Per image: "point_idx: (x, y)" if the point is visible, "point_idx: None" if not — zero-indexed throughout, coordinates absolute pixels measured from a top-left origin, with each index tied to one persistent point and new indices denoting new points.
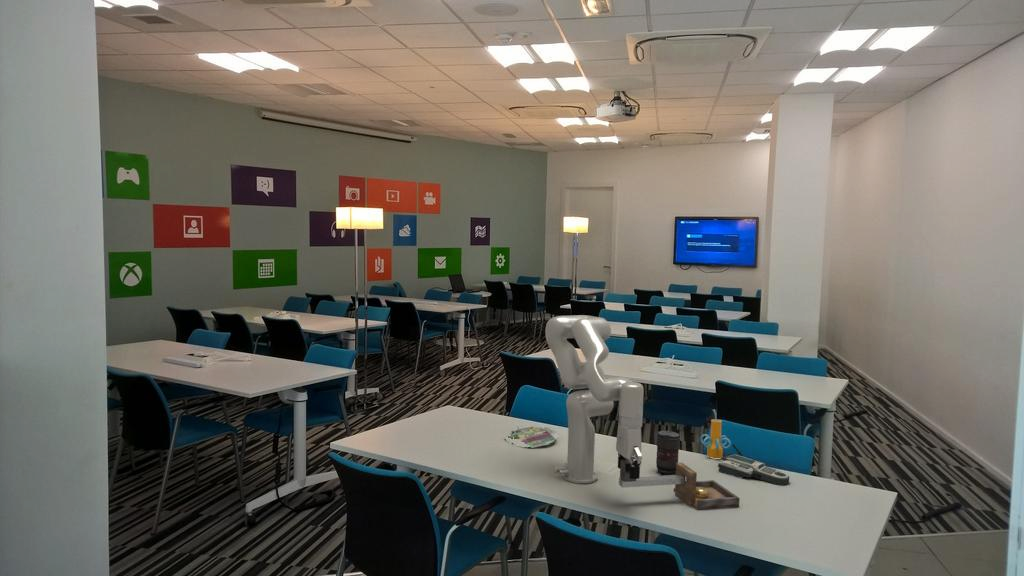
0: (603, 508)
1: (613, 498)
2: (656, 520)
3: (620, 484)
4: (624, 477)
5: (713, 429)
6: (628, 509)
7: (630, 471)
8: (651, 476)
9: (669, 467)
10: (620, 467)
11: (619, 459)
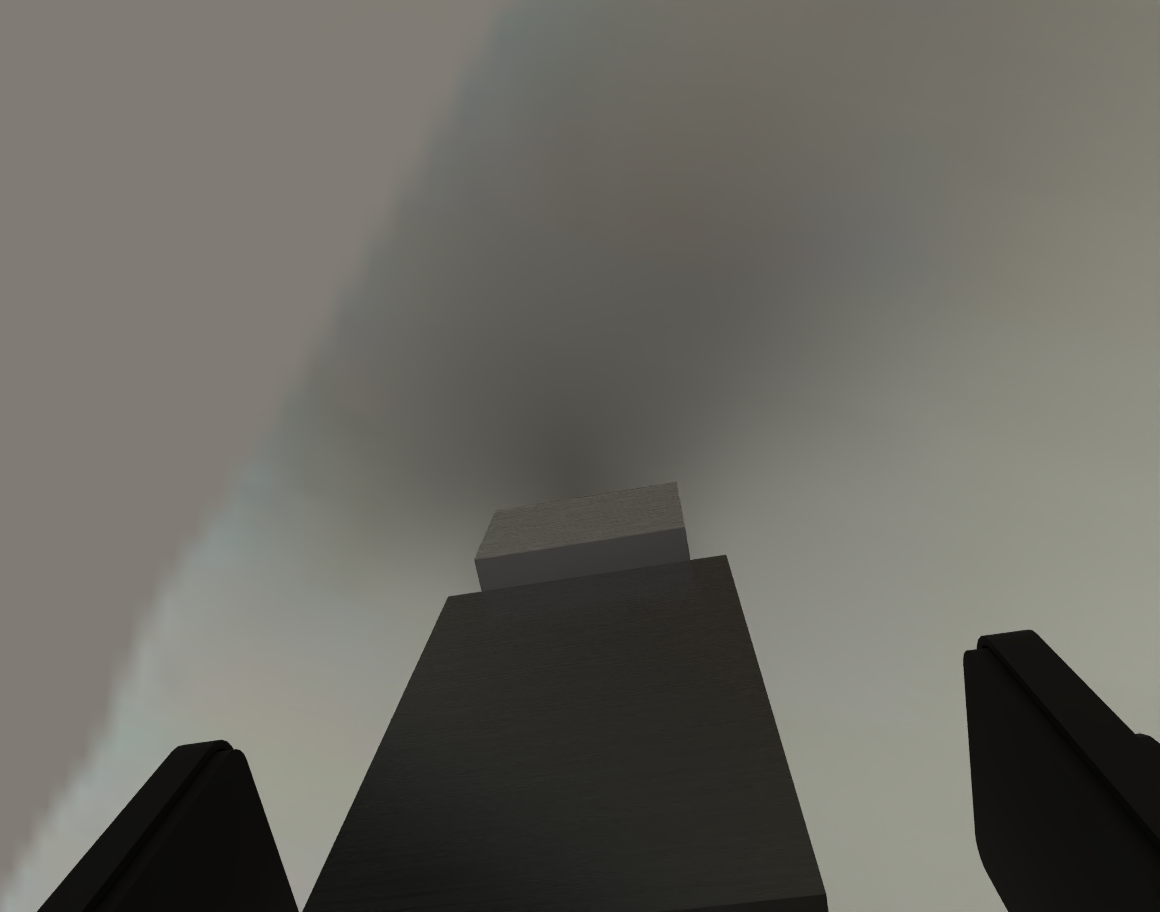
0: (455, 142)
1: (821, 367)
2: (167, 722)
3: (588, 503)
4: (449, 639)
5: None
6: (446, 488)
7: (68, 888)
8: None
9: None
10: (747, 690)
11: (1113, 840)
